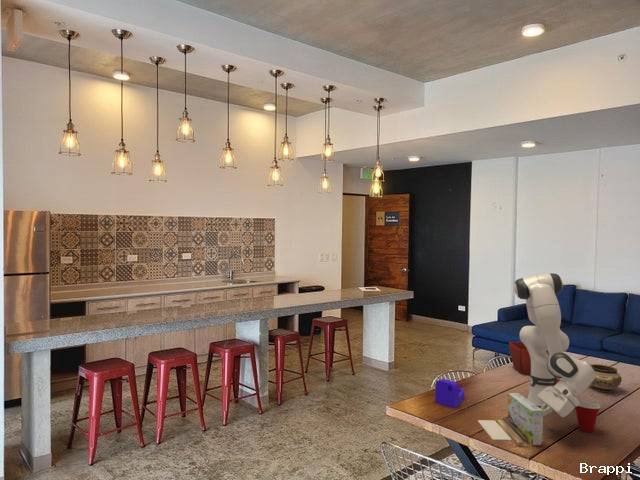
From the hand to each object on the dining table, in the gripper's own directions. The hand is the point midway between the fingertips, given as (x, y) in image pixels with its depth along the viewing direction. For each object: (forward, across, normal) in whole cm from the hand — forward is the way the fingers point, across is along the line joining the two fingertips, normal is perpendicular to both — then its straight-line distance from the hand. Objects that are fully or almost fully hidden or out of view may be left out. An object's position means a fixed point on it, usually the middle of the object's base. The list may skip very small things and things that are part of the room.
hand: (541, 413), depth 210 cm
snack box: (+12, 0, +2) cm, 12 cm away
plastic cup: (-10, -7, +24) cm, 27 cm away
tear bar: (+15, 0, -2) cm, 15 cm away
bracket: (+26, -40, -12) cm, 49 cm away
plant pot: (-18, -93, +31) cm, 100 cm away
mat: (+20, -4, -7) cm, 22 cm away
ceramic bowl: (-38, -62, +52) cm, 90 cm away
